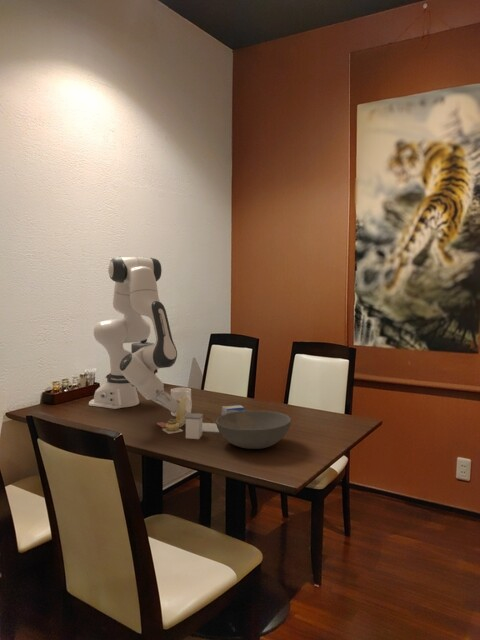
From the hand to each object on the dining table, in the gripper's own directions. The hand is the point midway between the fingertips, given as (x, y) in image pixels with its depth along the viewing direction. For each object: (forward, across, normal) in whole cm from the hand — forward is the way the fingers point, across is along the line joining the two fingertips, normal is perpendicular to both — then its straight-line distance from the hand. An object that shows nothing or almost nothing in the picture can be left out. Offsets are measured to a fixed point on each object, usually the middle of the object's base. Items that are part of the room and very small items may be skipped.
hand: (174, 411), depth 205 cm
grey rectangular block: (+4, -16, +4) cm, 17 cm away
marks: (+2, -2, +6) cm, 7 cm away
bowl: (+14, -36, -6) cm, 39 cm away
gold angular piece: (+3, -3, +4) cm, 6 cm away
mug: (+10, +11, -3) cm, 15 cm away
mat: (+11, -10, -4) cm, 15 cm away
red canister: (+14, +68, -8) cm, 70 cm away
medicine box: (+16, -16, -9) cm, 24 cm away
